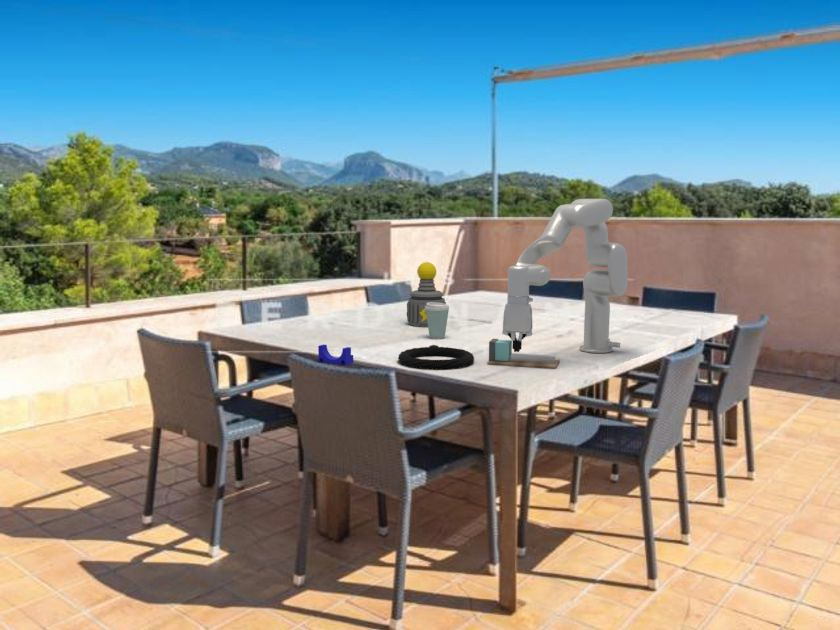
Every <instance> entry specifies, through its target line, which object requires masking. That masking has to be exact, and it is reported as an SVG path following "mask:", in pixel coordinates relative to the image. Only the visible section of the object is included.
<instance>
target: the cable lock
mask: <svg viewBox="0 0 840 630" xmlns="http://www.w3.org/2000/svg"><path fill="white" fill-rule="evenodd" d="M420 357H449V358H451V359H430V358H429V359H426V358H420ZM397 359H398V362H399V363H400V364H401V365H404V366H405V367H409V368H413V369H420V370H453V369H462V368H465V367H469V366H471V365H472V364H473V363H474V362H475V356H474V354H473V352H472V353H471V352H470V351H468V350H465V349H461V348H457V347H456V348H455V347H447V346H446V347H444V346H439V345H436V344H432V345H429V346H425V347H413V348H410V349H409V348H408V349H406V350H403V351H401V352H400V353H399V354H398V357H397Z"/></svg>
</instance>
